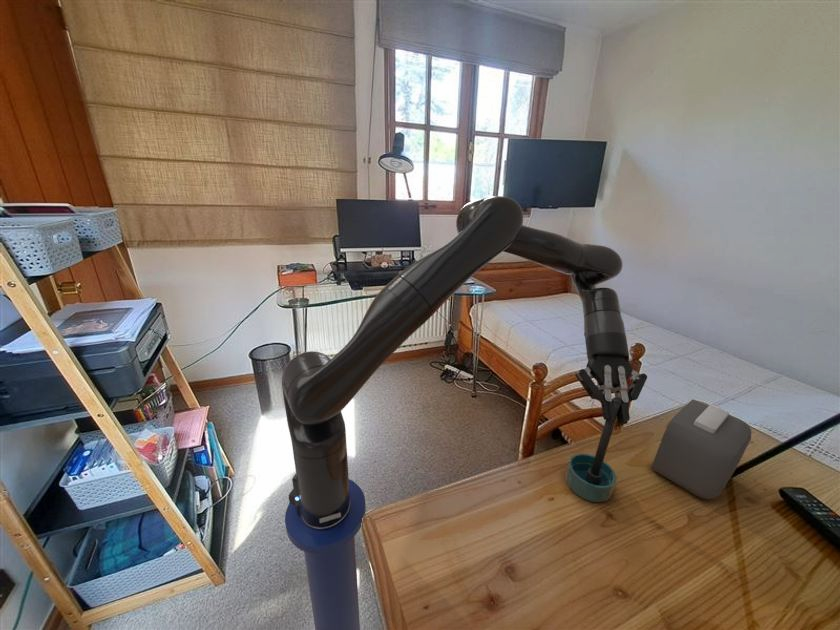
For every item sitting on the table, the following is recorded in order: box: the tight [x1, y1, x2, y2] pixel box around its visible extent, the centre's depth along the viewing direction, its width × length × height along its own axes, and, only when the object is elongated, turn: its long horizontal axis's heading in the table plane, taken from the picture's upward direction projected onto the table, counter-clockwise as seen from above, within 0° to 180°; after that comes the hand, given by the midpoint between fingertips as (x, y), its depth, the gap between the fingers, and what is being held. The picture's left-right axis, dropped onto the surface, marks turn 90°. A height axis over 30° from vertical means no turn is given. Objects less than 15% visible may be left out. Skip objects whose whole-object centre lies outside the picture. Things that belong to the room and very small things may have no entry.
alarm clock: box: [651, 399, 752, 500], centre depth 74 cm, size 16×11×16 cm
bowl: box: [564, 452, 617, 503], centre depth 72 cm, size 9×9×4 cm
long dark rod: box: [586, 396, 621, 485], centre depth 68 cm, size 3×3×21 cm
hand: (617, 423), depth 64 cm, fingers closed on long dark rod
